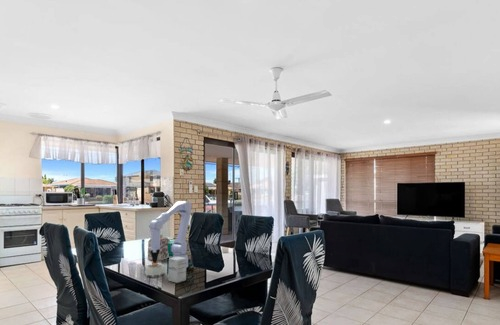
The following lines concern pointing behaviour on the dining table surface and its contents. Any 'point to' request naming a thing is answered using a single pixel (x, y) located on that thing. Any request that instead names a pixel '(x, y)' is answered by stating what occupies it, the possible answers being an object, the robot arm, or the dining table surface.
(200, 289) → the dining table surface
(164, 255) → the decorative jar
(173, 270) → the supplement box
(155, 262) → the copper-knobbed silver dome
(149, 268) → the octagonal hollow frame
